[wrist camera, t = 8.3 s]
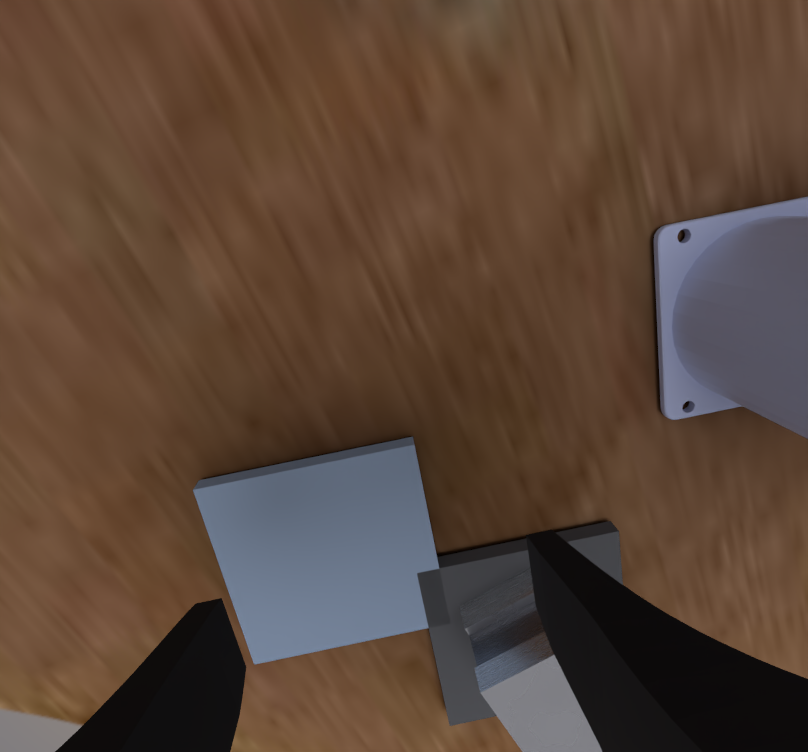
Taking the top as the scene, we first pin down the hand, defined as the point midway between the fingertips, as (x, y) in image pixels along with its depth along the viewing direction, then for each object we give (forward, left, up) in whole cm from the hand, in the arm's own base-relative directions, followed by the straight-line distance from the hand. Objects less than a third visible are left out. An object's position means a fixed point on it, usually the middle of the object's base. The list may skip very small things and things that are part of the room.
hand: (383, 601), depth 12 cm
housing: (-5, +11, -9) cm, 15 cm away
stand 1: (+3, +5, -10) cm, 11 cm away
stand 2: (-5, +11, -10) cm, 16 cm away
